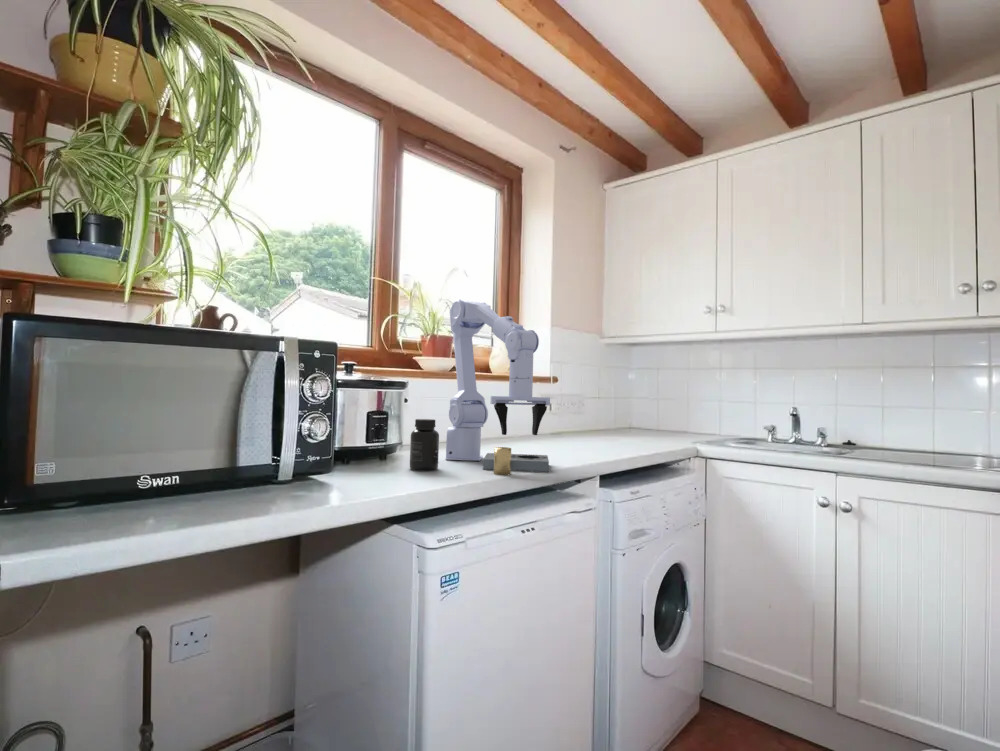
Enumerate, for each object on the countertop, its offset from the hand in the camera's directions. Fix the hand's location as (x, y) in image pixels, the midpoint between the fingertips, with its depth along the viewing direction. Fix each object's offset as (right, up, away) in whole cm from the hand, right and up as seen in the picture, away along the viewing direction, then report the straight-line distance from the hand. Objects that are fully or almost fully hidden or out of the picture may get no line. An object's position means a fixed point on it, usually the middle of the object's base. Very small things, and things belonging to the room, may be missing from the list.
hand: (519, 434), depth 127 cm
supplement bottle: (-23, -8, -1) cm, 25 cm away
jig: (-1, -9, +6) cm, 11 cm away
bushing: (-4, -9, -5) cm, 11 cm away
